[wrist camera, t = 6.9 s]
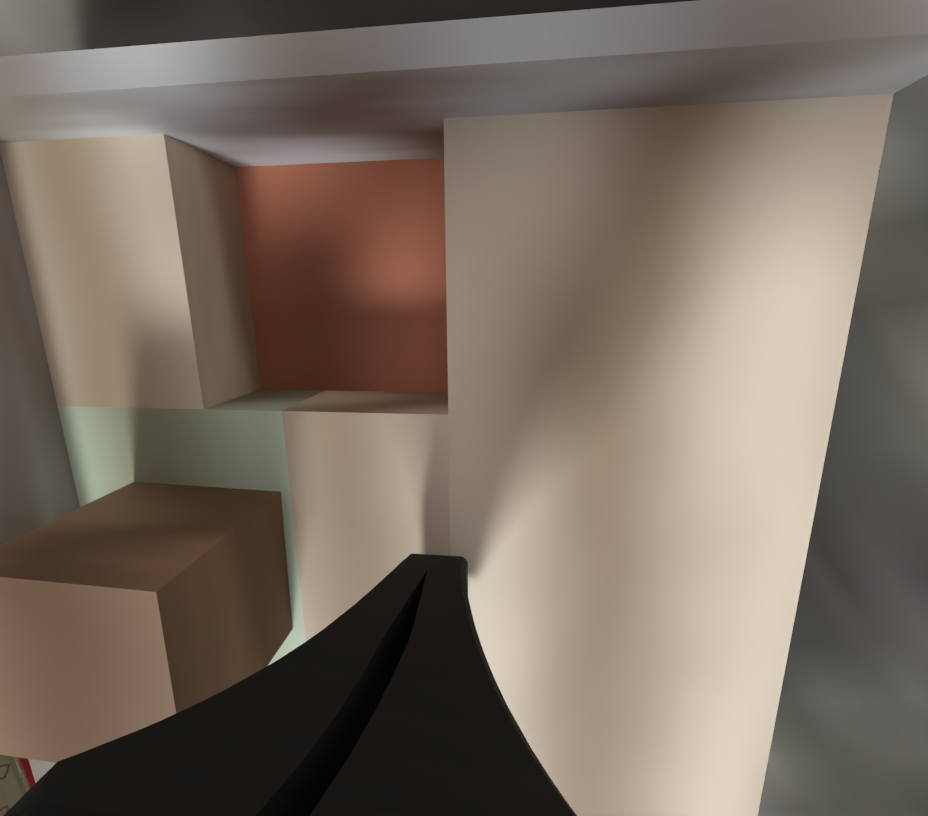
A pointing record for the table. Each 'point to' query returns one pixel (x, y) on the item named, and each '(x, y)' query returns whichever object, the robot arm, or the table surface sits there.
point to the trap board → (475, 332)
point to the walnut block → (136, 612)
